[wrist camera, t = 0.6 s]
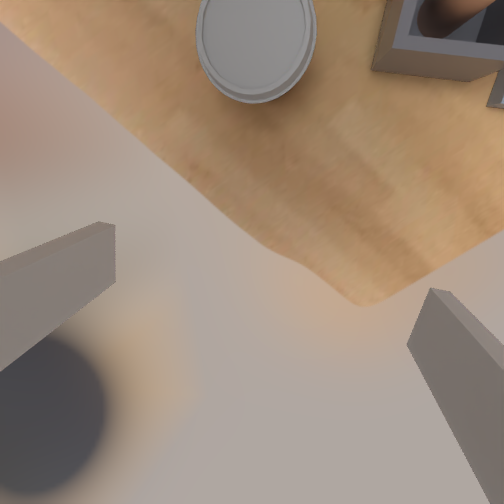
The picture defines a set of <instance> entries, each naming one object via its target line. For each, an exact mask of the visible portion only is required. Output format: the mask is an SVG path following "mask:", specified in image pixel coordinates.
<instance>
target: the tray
mask: <svg viewBox="0 0 504 504" xmlns="http://www.w3.org/2000/svg"><path fill="white" fill-rule="evenodd" d="M487 107H495V108H503V109H504V69H503V70H500V71H499V73H498V75H497V78H496V81H495V84H494V86H493V89H492V92H491V95H490V97H489V100H488V103H487Z"/></svg>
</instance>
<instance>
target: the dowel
mask: <svg viewBox="0 0 504 504" xmlns="http://www.w3.org/2000/svg"><path fill="white" fill-rule="evenodd" d="M494 1H496V0H425V1H424V2H423V4H422V5H421V7H420V9H419V12H418V16H417V25H418V29H419V31H420V32H421V34H422V35H423V36H424V37H430V38H439V39H442V38H444V37H446V36H448V35H449V34H451V33H452V32H453V31H455V30H456V29H457V28H459V27H460V26H461V25H463V24H464V23H466V22H467V21H468V20H470V19H471V18H472V17H474V16H475V15H476V14H478V13H479V12H481V11H482V10H483V9H485V8H486V7H487V6H489V5H490V4H491V3H493V2H494Z"/></svg>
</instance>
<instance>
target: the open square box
mask: <svg viewBox="0 0 504 504" xmlns="http://www.w3.org/2000/svg"><path fill="white" fill-rule="evenodd" d="M424 1H425V0H387V3H386V7H385V12H384V16H383V20H382V24H381V28H380V33H379V37H378V41H377V45H376V50H375V54H374V58H373V62H372V67H371V70H372V71H381V72H389V73H397V74H406V75H414V76H422V77H431V78H439V79H447V80H455V81H464V82H470V81H473V80H476V79H478V78H481V77H484V76H486V75H489V74H492V73H494V72H497V71H500V70H503V69H504V0H496V1H494V2H493V3H491V4H490V5H489V6H487V7H486V8H485V9H483V10H482V11H481V12H479V13H478V14H476V15H475V16H474V17H472V18H471V19H470V20H468V21H467V22H466V23H464V24H463V25H461V26H460V27H459V28H457V29H456V30H455V31H453V32H452V33H451V34H449V35H448V36H446V37H444V38H442V39H439V38H430V37H424V36H423V35H422V34H421V32H420V31H419V29H418V25H417V16H418V12H419V9H420V7H421V5H422V4H423V2H424Z"/></svg>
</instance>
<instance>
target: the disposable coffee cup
mask: <svg viewBox="0 0 504 504" xmlns="http://www.w3.org/2000/svg"><path fill="white" fill-rule="evenodd" d="M316 36H317V28H316V14H315V10H314V6H313V2H312V0H202V2H201V4H200V9H199V13H198V17H197V24H196V47H197V52H198V56H199V60H200V62H201V65H202V67H203V70H204V72H205V73H206V75H207V77H208V78H209V80H210V81H211V82H212V83H213V84H214V86H215V87H216V88H217V89H218V90H219V91H221V92H222V93H223V94H225V95H226V96H228V97H230V98H232V99H234V100H237V101H240V102H244V103H263V102H268V101H271V100H273V99H276V98H278V97H280V96H281V95H283V94H285V93H286V92H288V91H289V90H290V89H291V88H292V87H293V86H294V85H295V84H296V83H297V82H298V81H299V80H300V78H301V77H302V75H303V74H304V72H305V71H306V69H307V67H308V65H309V63H310V61H311V58H312V55H313V51H314V48H315V42H316Z"/></svg>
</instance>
